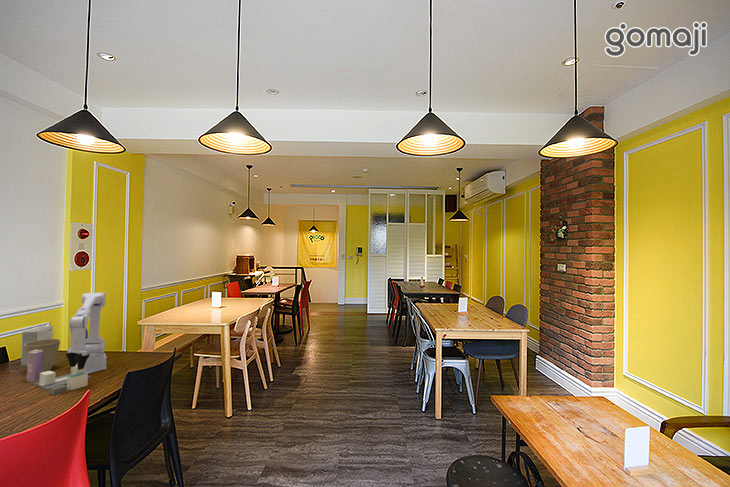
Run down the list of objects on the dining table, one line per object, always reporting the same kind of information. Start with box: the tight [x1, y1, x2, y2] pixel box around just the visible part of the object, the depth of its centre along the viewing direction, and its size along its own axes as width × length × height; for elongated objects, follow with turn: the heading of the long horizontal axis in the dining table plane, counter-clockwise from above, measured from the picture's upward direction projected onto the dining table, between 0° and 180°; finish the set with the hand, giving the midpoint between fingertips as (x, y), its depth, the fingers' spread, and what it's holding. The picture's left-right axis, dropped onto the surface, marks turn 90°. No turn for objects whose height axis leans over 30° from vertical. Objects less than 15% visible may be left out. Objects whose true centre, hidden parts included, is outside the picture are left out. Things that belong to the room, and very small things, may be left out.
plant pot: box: [24, 338, 61, 372], centre depth 195 cm, size 15×15×16 cm
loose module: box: [66, 372, 89, 391], centre depth 174 cm, size 7×4×6 cm, turn 153°
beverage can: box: [26, 350, 43, 383], centre depth 182 cm, size 6×6×15 cm
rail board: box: [33, 364, 92, 391], centre depth 180 cm, size 18×14×6 cm
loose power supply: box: [49, 385, 68, 397], centre depth 166 cm, size 5×4×3 cm
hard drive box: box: [20, 325, 54, 367], centre depth 211 cm, size 16×8×20 cm, turn 14°
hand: (77, 367), depth 174 cm, fingers open, 7 cm apart
